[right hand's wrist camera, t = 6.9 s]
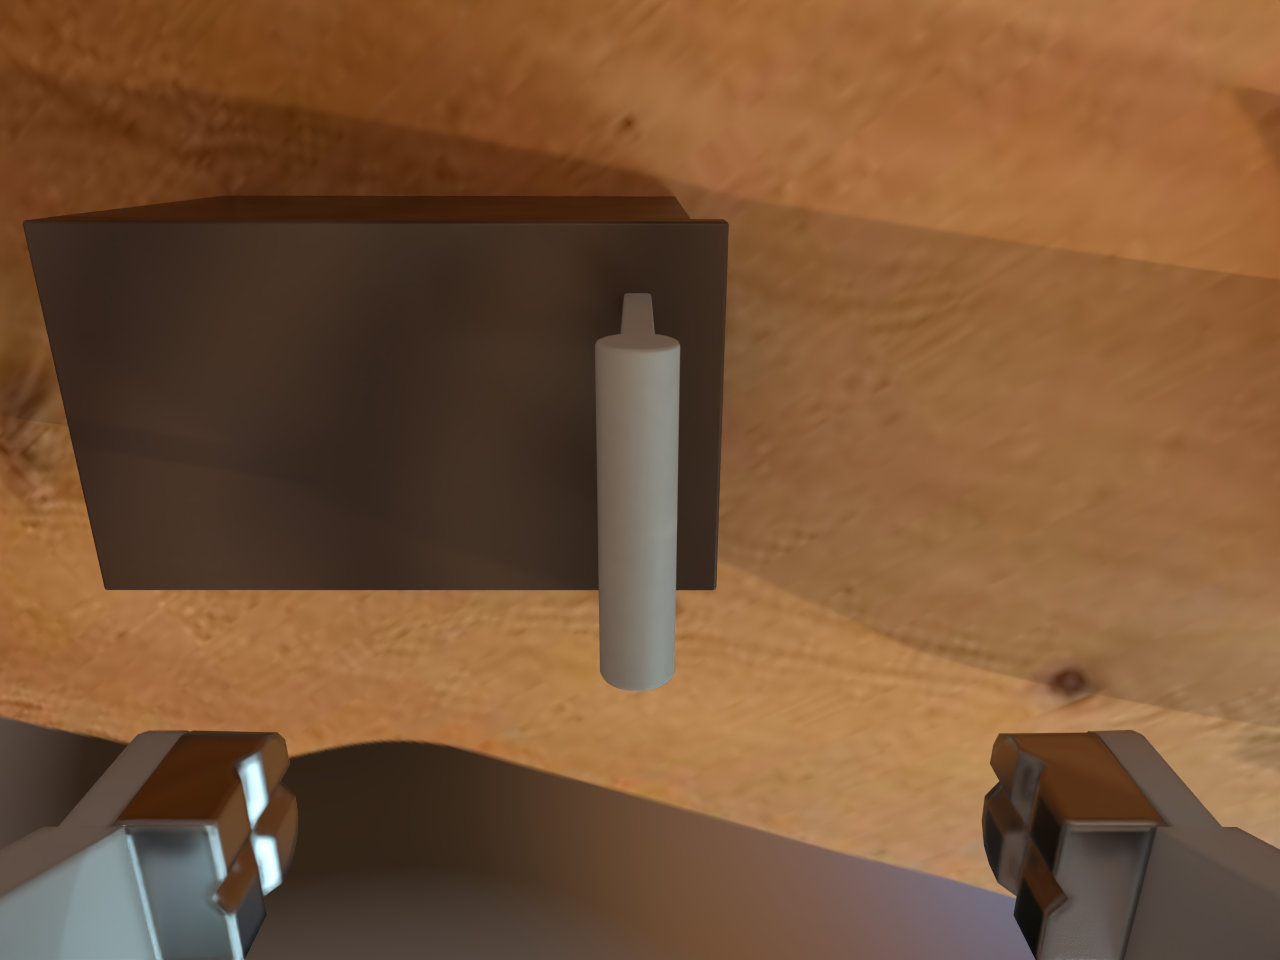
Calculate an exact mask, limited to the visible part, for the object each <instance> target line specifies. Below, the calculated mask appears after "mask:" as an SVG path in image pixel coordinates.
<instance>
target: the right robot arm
mask: <svg viewBox="0 0 1280 960" xmlns="http://www.w3.org/2000/svg"><path fill="white" fill-rule="evenodd" d="M289 764H290V761H289V757H288V752H287V747H286V742H285V739H284V738H283V737H282V736H281V735H280V734H278V733H277V732H232V731H191V732H189V731H147V732H144V733H141V734H138V735H137V736H136V737H135V738H134V739H133V740H132V741H131V743H130V744H129V745H128V746H127V747H126V748H125V750H124V751H123V752H122V753H121V754H120V755H119V757H118V758H117V759H116V760H115V761H114V762H113V763H112V765H111V766H110V767H109V768H108V769H107V770H106V772H105V773H104V774H103V775H102V776H101V777H100V779H99V780H98V781H97V782H96V783H95V784H94V786H93V787H92V788H91V789H90V790H89V791H88V793H87V794H86V795H85V796H84V797H83V798H82V800H81V801H80V802H79V803H78V804H77V805H76V806H75V808H74V809H73V810H72V811H71V812H70V813H69V815H68V816H67V817H66V818H65V819H64V820H63V822H62V823H61V824H60V825H59V826H58V827H43V828H41V829H39V830H37V831H35V832H33V833H31V834H29V835H27V836H25V837H24V838H22V839H20V840H18V841H16V842H14V843H12V844H10V845H8V846H6V847H4V848H2V849H0V960H245V958H246V956H247V954H248V951H249V949H250V947H251V945H252V943H253V941H254V939H255V937H256V935H257V933H258V931H259V929H260V927H261V925H262V923H263V921H264V919H265V917H266V910H265V904H264V898H263V896H265V895H266V894H267V893H269V892H270V891H271V890H273V889H274V888H276V887H277V886H278V885H280V884H281V883H282V882H283V879H284V877H285V875H286V873H287V871H288V869H289V867H290V864H291V862H292V858H293V853H294V849H295V844H296V840H297V832H298V812H297V805H296V799H295V796H294V795H293V793H292V792H291V791H289V789H288V788H286V786H285V785H284V784H283V783H282V782H281V779H282V777H283V775H284V773H285V772H286V770H287V768H288V766H289ZM990 765H991V766H992V768H993V770H994V772H995V774H996V775H997V777H998V779H999V782H998V783H997V784H996V785H995V786H994V787H993V788H992V789H991V790H990V791H989V792H988V793H987V794H986V795H985V799H984V807H983V815H982V828H983V839H984V847H985V851H986V854H987V858H988V861H989V865H990V867H991V869H992V871H993V873H994V875H995V878H996V880H997V882H998V883H999V884H1000V885H1002V886H1003V887H1004V888H1006V889H1007V890H1009V891H1010V892H1011V893H1013V894H1014V895H1015V896H1017V898H1016V904H1015V910H1014V917H1015V919H1016V921H1017V923H1018V925H1019V927H1020V929H1021V931H1022V933H1023V935H1024V937H1025V939H1026V941H1027V943H1028V945H1029V947H1030V949H1031V951H1032V953H1033V955H1034V957H1035V959H1036V960H1280V850H1279V849H1277V848H1276V847H1274V846H1272V845H1270V844H1268V843H1266V842H1264V841H1262V840H1260V839H1258V838H1256V837H1255V836H1253V835H1251V834H1249V833H1247V832H1245V831H1243V830H1241V829H1239V828H1237V827H1222V826H1221V825H1220V824H1219V823H1218V822H1217V820H1216V819H1215V818H1214V817H1213V816H1212V815H1211V813H1210V812H1209V811H1208V810H1207V809H1206V808H1205V807H1204V805H1203V804H1202V803H1201V802H1200V801H1199V800H1198V798H1197V797H1196V796H1195V795H1194V794H1193V793H1192V791H1191V790H1190V789H1189V788H1188V787H1187V786H1186V784H1185V783H1184V782H1183V781H1182V780H1181V779H1180V778H1179V776H1178V775H1177V774H1176V773H1175V772H1174V771H1173V769H1172V768H1171V767H1170V766H1169V765H1168V764H1167V762H1166V761H1165V760H1164V759H1163V758H1162V757H1161V755H1160V754H1159V753H1158V752H1157V751H1156V750H1155V749H1154V747H1153V746H1152V745H1151V744H1150V743H1149V742H1148V740H1147V739H1146V738H1145V737H1144V736H1143V735H1141V734H1139V733H1137V732H1135V731H1133V730H1114V731H1088V732H1087V733H999V735H998V737H997V739H996V741H995V743H994V745H993V750H992V755H991V761H990Z"/></svg>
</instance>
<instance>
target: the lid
mask: <svg viewBox="0 0 1280 960" xmlns="http://www.w3.org/2000/svg"><path fill="white" fill-rule="evenodd" d="M23 227H24V231H25V236H26V240H27V245H28V249H29V253H30V258H31V262H32V267H33V271H34V276H35V280H36V285H37V289H38V293H39V298H40V302H41V307H42V311H43V316H44V320H45V325H46V329H47V333H48V338H49V342H50V347H51V351H52V356H53V360H54V365H55V369H56V374H57V378H58V382H59V387H60V391H61V396H62V400H63V405H64V409H65V414H66V418H67V422H68V427H69V431H70V436H71V440H72V445H73V449H74V454H75V458H76V462H77V467H78V471H79V476H80V480H81V485H82V489H83V494H84V498H85V502H86V507H87V511H88V516H89V520H90V525H91V529H92V534H93V538H94V542H95V547H96V551H97V556H98V560H99V565H100V569H101V574H102V578H103V582H104V587H105V589H106V590H599V633H600V672H601V675H602V676H603V678H604V680H605V681H606V682H608V683H609V684H610V685H612V686H614V687H617V688H619V689H623V690H628V691H646V690H652V689H655V688H658V687H660V686H662V685H664V684H666V683H667V682H668V681H669V680H670V679H671V677H672V676H673V674H674V669H675V612H676V590H715V588H716V579H717V550H718V521H719V492H720V463H721V434H722V404H723V375H724V346H725V317H726V288H727V259H728V229H729V225H728V222H727V221H725V220H723V219H264V218H40V219H32V220H26V221H24V222H23Z"/></svg>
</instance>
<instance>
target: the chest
mask: <svg viewBox="0 0 1280 960" xmlns="http://www.w3.org/2000/svg"><path fill="white" fill-rule="evenodd" d="M48 218H264V219H690V217H689V216H688V215H687V213H686V212H685V211H684V209H683V208H682V206H681V205H680V204H679V202H678V201H677V199H676V197H603V196H218V197H211V198H203V199H195V200H186V201H178V202H170V203H162V204H154V205H146V206H138V207H130V208H121V209H113V210H105V211H97V212H89V213H81V214H73V215H64V216H56V217H48Z"/></svg>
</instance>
